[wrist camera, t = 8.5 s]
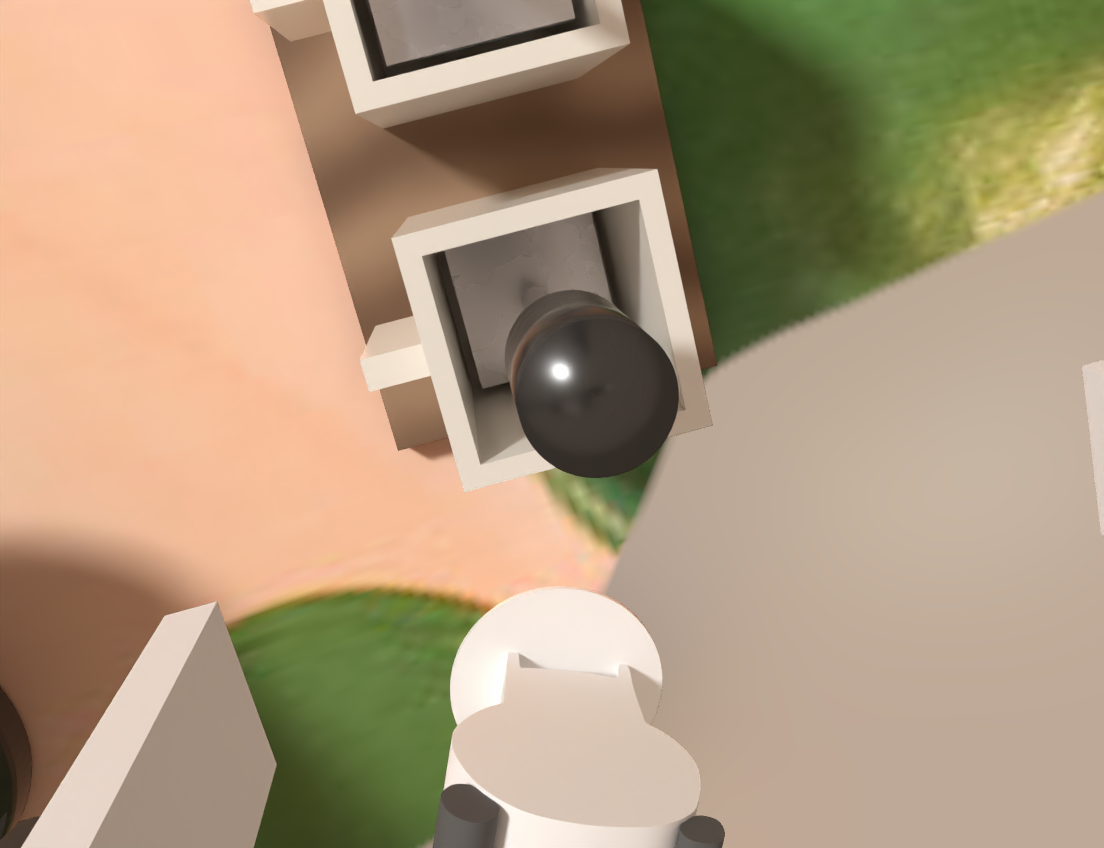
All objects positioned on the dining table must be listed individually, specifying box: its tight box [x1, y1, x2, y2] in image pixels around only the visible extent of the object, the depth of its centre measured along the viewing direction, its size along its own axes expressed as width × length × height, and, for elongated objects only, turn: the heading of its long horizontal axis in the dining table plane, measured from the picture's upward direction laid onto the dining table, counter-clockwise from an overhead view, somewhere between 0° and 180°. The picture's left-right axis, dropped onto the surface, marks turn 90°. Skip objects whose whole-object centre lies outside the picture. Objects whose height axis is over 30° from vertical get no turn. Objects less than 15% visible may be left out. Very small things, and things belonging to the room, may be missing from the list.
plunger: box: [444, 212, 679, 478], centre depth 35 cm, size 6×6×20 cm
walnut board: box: [270, 0, 717, 451], centre depth 47 cm, size 25×16×2 cm, turn 14°
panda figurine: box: [433, 586, 725, 848], centre depth 48 cm, size 12×11×15 cm
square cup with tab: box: [360, 168, 713, 492], centre depth 42 cm, size 9×11×14 cm
